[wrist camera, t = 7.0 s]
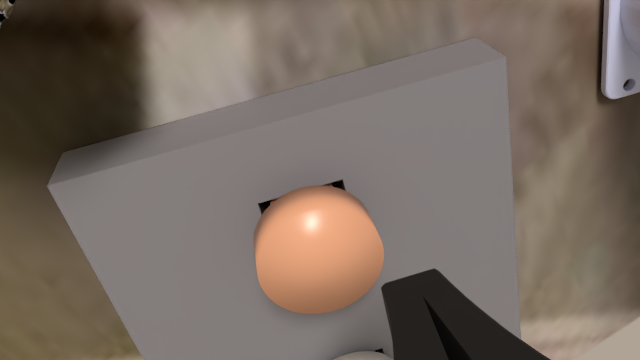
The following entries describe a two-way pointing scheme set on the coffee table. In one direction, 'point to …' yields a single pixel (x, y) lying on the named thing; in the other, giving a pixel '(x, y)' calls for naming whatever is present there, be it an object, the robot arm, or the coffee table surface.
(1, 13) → the cup
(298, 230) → the terracotta button
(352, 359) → the white rounded piece
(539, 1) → the coffee table surface
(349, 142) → the button panel
